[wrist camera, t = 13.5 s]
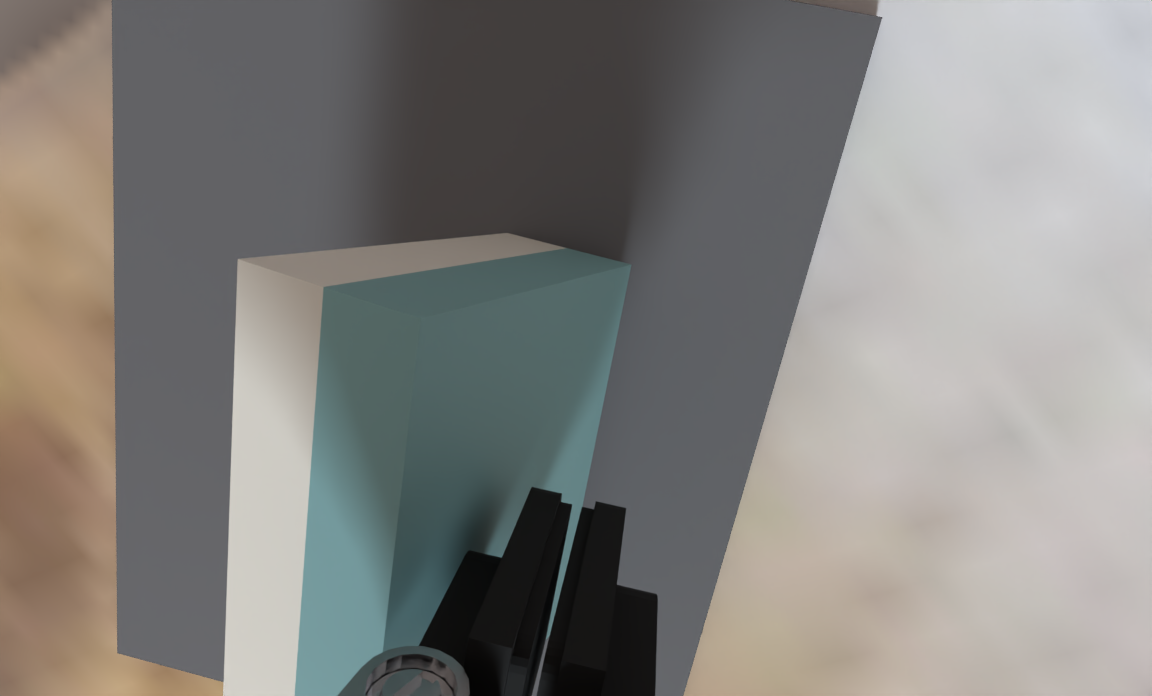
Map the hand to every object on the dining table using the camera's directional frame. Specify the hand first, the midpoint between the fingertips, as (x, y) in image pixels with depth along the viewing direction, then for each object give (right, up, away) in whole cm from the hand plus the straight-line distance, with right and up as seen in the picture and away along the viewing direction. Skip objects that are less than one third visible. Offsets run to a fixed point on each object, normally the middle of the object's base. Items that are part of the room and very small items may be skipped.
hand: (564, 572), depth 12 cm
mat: (-4, +3, +5) cm, 7 cm away
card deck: (-1, +2, +4) cm, 5 cm away
